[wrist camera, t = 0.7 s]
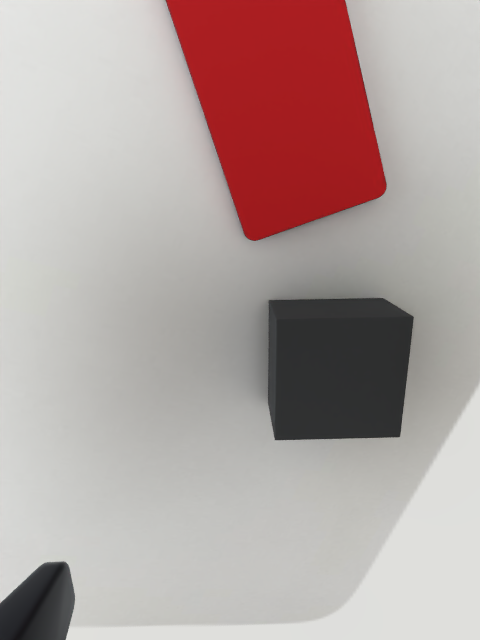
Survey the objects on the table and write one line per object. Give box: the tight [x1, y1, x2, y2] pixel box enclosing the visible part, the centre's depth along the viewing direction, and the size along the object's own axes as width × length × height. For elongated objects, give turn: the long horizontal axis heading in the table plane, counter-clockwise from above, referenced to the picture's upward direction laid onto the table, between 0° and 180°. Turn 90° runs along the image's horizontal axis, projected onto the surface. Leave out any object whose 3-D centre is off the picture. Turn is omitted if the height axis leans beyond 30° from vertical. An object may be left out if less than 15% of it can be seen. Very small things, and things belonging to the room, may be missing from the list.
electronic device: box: [166, 0, 386, 241], centre depth 13 cm, size 6×1×15 cm
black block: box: [268, 298, 414, 440], centre depth 16 cm, size 5×5×3 cm
